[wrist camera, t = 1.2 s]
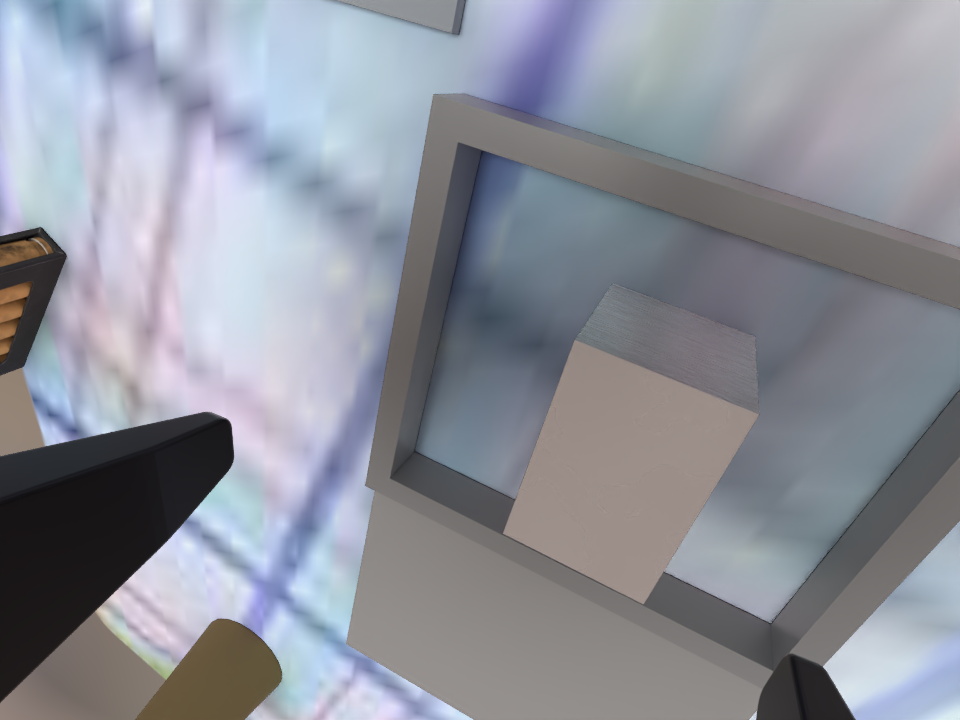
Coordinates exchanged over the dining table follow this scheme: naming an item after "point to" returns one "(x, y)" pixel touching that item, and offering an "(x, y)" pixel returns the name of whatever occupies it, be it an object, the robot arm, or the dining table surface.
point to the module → (635, 439)
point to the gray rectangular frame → (484, 512)
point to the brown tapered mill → (217, 677)
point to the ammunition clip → (25, 291)
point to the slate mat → (419, 11)
